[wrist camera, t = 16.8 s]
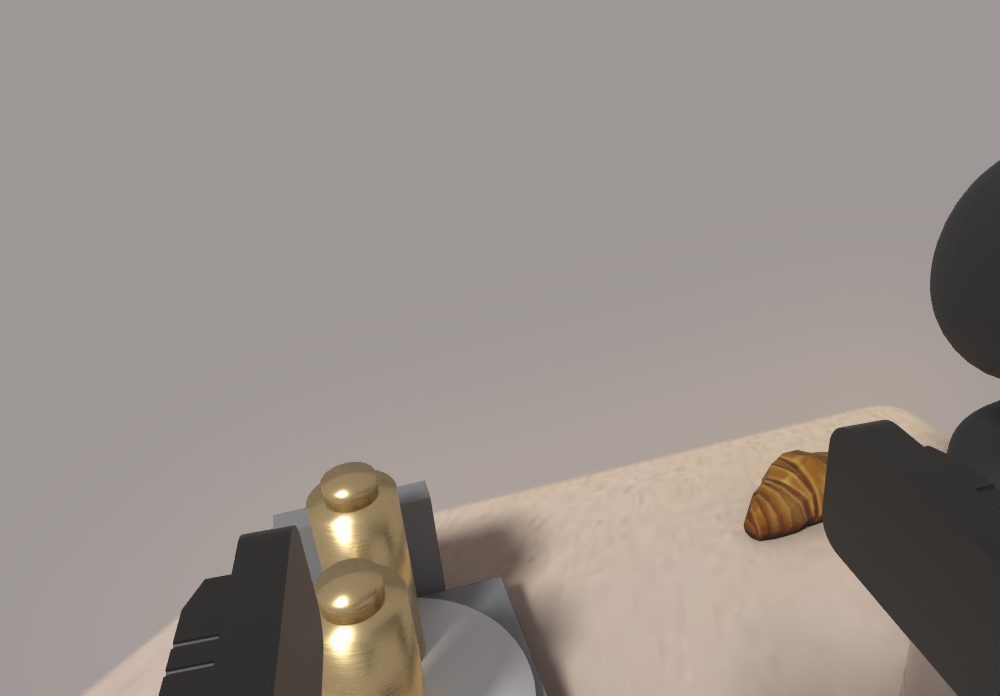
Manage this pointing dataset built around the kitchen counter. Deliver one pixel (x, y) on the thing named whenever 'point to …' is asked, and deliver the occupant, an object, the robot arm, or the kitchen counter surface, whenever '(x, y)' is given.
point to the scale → (451, 613)
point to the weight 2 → (367, 632)
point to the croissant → (788, 496)
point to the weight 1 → (362, 525)
